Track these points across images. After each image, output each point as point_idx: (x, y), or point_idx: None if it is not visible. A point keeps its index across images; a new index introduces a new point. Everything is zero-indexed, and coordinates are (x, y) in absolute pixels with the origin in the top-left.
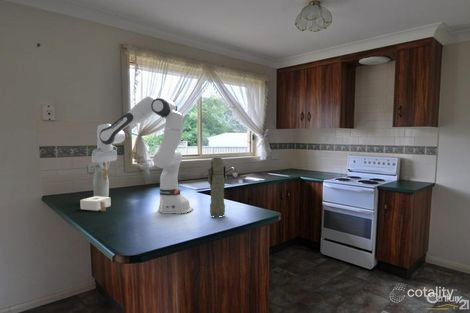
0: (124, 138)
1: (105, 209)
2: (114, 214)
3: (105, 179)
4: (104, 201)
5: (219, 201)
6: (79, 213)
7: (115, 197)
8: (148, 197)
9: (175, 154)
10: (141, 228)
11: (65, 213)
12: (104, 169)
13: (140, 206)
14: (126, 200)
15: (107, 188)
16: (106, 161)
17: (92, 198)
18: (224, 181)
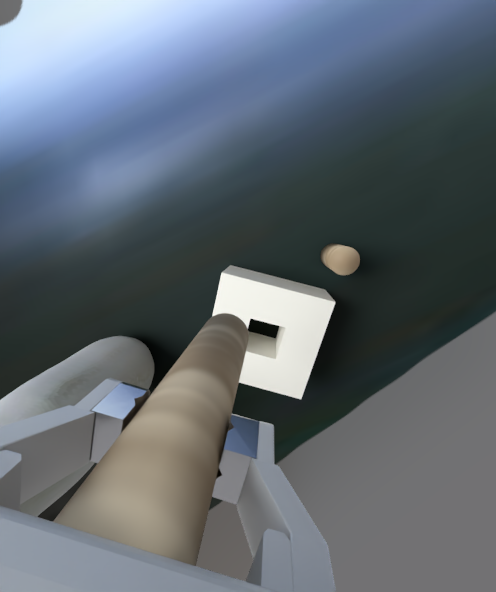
0: None
1: (333, 244)
2: (413, 156)
3: (242, 324)
4: (339, 253)
5: None
6: (374, 342)
7: (61, 321)
8: (16, 130)
9: None
10: None
11: (369, 397)
12: (228, 398)
13: (235, 77)
14: (110, 234)
15: (88, 356)
16: (125, 549)
17: (258, 358)
18: None
